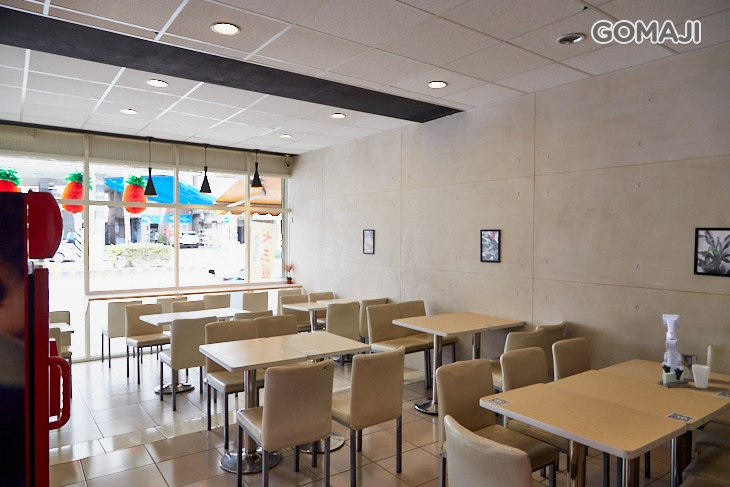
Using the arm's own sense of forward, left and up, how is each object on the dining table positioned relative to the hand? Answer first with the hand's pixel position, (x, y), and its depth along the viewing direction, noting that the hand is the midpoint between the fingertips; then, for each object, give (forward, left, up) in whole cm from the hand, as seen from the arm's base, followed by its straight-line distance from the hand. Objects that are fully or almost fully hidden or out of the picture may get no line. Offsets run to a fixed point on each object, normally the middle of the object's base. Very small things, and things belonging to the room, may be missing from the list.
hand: (673, 378), depth 307 cm
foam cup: (+9, +13, -4) cm, 16 cm away
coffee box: (-10, +24, -4) cm, 26 cm away
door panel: (0, 0, -3) cm, 3 cm away
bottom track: (0, 0, -4) cm, 4 cm away
